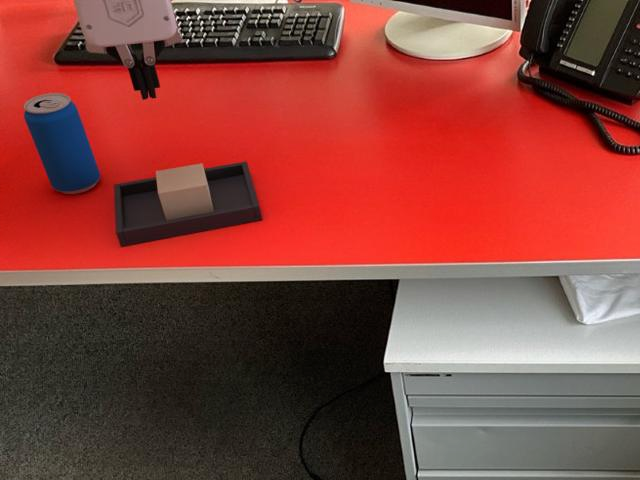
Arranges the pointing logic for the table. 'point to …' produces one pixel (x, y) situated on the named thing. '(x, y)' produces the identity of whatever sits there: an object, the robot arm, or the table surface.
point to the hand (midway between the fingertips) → (149, 94)
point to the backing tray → (150, 222)
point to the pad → (184, 191)
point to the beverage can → (61, 143)
